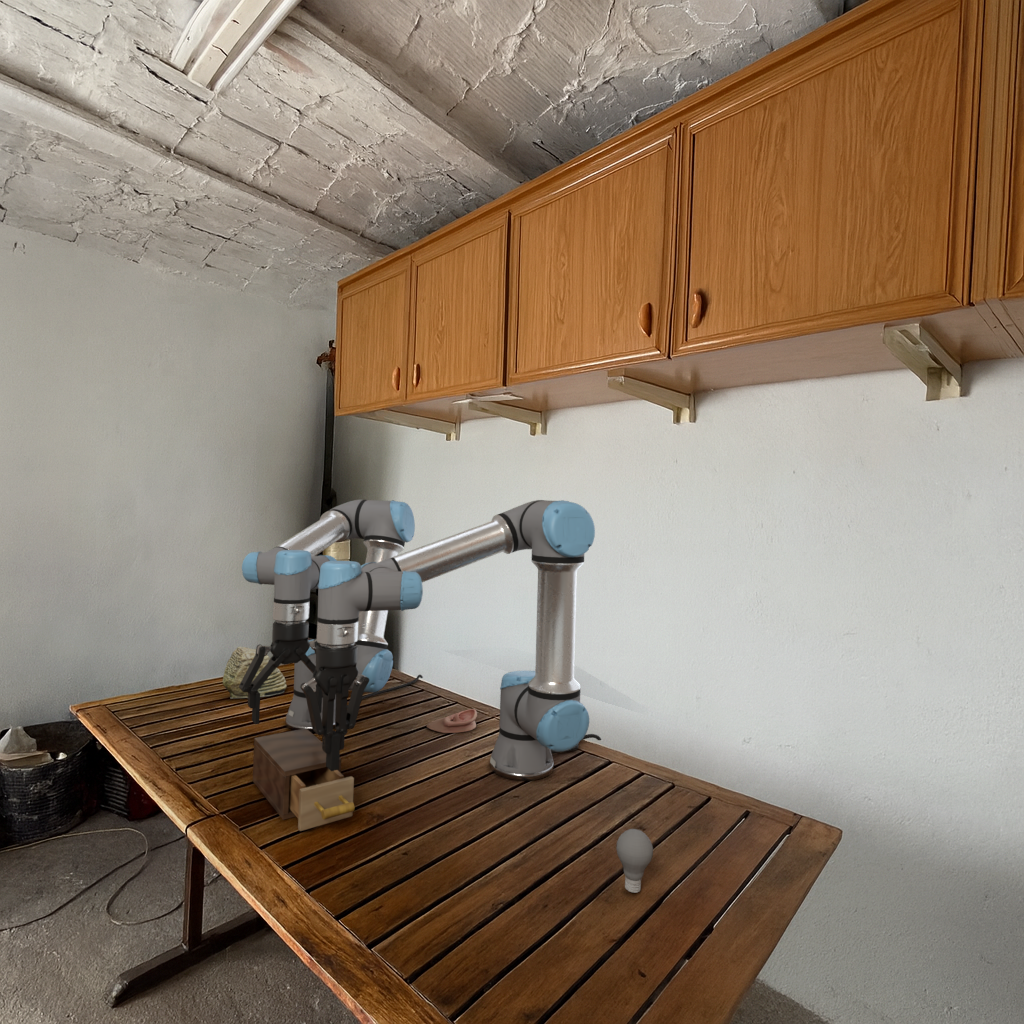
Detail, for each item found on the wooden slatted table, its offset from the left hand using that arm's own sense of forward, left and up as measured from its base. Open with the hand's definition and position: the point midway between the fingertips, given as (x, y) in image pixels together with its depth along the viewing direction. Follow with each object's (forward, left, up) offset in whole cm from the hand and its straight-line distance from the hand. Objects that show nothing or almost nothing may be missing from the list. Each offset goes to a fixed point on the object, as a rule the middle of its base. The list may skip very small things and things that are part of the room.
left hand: (287, 716), depth 140 cm
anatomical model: (-50, +2, -14) cm, 53 cm away
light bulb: (-17, +76, -14) cm, 80 cm away
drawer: (+4, +17, -13) cm, 22 cm away
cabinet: (+1, +6, -14) cm, 16 cm away
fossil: (-26, -60, -14) cm, 67 cm away
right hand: (+6, +25, -2) cm, 26 cm away
